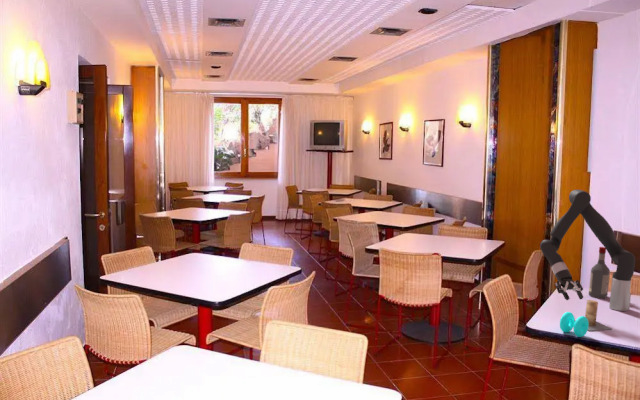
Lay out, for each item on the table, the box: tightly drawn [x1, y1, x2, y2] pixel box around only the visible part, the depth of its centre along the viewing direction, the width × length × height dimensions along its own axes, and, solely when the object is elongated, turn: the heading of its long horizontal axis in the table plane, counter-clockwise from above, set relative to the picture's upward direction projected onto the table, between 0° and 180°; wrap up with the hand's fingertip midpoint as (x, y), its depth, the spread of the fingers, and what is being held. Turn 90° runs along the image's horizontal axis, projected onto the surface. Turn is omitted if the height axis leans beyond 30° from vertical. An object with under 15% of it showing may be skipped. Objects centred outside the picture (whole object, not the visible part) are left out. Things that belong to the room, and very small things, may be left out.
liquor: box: [588, 246, 611, 299], centre depth 329 cm, size 9×9×30 cm
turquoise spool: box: [559, 311, 589, 338], centre depth 263 cm, size 10×10×10 cm
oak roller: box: [584, 299, 599, 326], centre depth 276 cm, size 5×5×12 cm
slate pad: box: [575, 319, 613, 332], centre depth 277 cm, size 14×14×1 cm
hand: (575, 299), depth 287 cm, fingers open, 8 cm apart
